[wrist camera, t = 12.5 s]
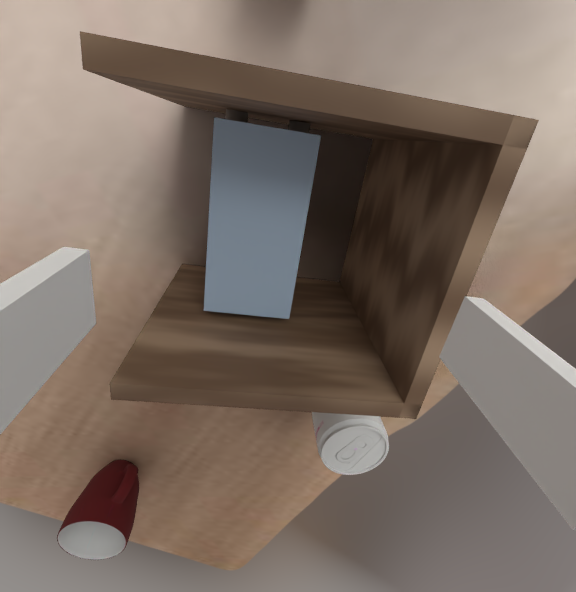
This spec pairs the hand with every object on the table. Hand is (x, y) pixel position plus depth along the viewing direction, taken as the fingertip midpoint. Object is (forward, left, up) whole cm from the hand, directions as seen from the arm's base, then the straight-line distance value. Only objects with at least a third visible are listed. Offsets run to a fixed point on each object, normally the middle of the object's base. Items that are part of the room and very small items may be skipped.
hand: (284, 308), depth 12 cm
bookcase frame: (+1, +1, -25) cm, 26 cm away
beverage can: (+19, +10, -26) cm, 33 cm away
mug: (+41, -16, -26) cm, 51 cm away
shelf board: (+1, -1, -16) cm, 16 cm away
